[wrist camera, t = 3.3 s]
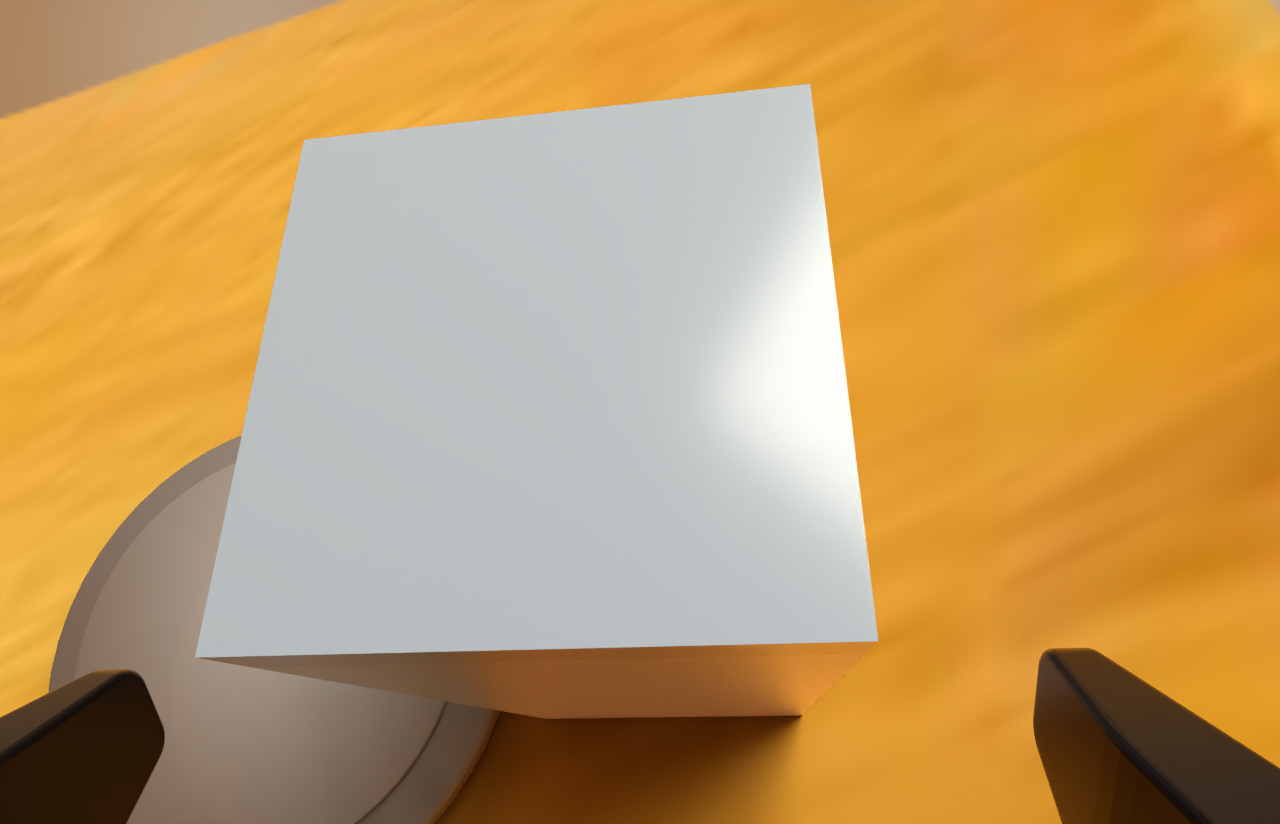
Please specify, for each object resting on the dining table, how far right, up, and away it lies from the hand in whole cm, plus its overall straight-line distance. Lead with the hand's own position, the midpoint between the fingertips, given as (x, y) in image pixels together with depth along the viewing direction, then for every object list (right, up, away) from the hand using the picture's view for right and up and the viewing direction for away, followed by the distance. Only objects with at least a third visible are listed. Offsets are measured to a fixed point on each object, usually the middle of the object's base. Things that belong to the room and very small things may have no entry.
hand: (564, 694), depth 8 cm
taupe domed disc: (-8, -3, +11) cm, 14 cm away
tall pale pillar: (+1, -1, +11) cm, 11 cm away
